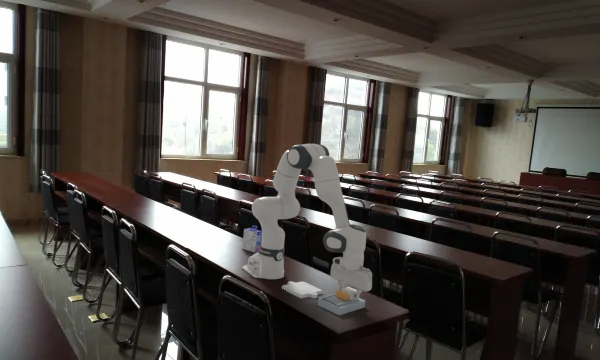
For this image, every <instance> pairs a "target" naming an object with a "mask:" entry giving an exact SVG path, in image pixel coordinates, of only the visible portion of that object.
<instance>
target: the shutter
mask: <svg viewBox="0 0 600 360" xmlns="http://www.w3.org/2000/svg"><path fill="white" fill-rule="evenodd" d="M335 294H336V295H334V296H330V297H327V298H324V300H326V301H328V302H330V303H332V304H334V305H337V304H340V303H343V302H347V301H349V300H348V299H349V294H347V293H344V292H342V291H340V290H339V289H336V290H335Z"/></svg>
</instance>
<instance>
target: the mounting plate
mask: <svg viewBox="0 0 600 360" xmlns="http://www.w3.org/2000/svg"><path fill="white" fill-rule="evenodd" d="M283 289H284V290H283ZM281 290H283V291H285V290H286V291H285V292H287V293H289V294H291V295H293V296H295V297H297V298H300V299H304V298H312V299H317V298H318V297H319V295H321V294H323V289H320V288H318V287H317V286H314V285H312V284H310V283H307V282H305V281H298V282H294V281H292V280H291V281H288V282H287V284H283V285H281Z"/></svg>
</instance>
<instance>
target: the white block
mask: <svg viewBox="0 0 600 360" xmlns="http://www.w3.org/2000/svg"><path fill="white" fill-rule="evenodd" d="M341 291H342V292H344V293H347V294H349V299H348V300H349V301H350V300H352V301H353V300H356V299H357V298H354V294H355V293H357V292H358V291H357V288H354V287H352V286H346V287H344V288H342V289H341Z"/></svg>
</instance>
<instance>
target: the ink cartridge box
mask: <svg viewBox="0 0 600 360" xmlns="http://www.w3.org/2000/svg"><path fill="white" fill-rule="evenodd" d="M261 243H262V230H258V226H257V225H252V226H251V227H248V228H244V229H243V238H242V245H241V246H242V247H241V249H242V250H245V251H249V252H251V253H257V252H258V250H259V248H257V247H259V246H260V245H261Z"/></svg>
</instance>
